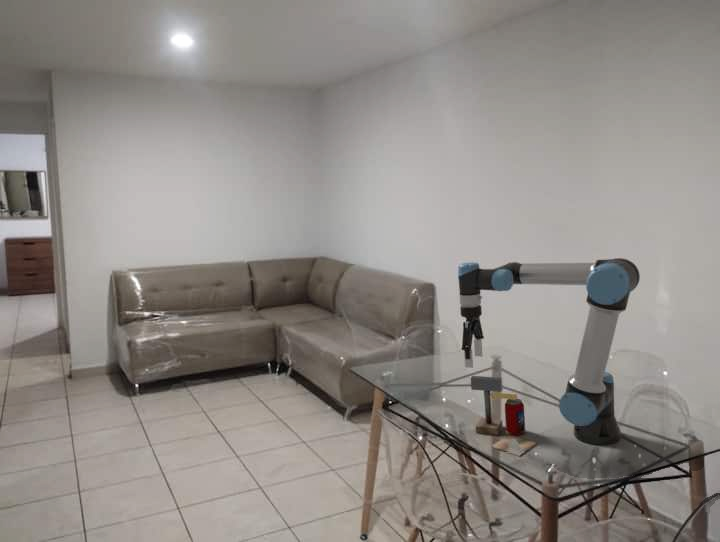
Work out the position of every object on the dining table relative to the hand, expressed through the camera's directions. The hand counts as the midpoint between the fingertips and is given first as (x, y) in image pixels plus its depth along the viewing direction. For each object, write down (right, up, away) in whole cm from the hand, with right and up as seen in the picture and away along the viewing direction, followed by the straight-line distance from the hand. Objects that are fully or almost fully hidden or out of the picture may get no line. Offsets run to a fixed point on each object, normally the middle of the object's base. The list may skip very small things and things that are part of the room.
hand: (474, 361), depth 213 cm
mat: (+11, -27, -13) cm, 32 cm away
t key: (+8, -23, 0) cm, 24 cm away
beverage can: (+15, -26, -2) cm, 30 cm away
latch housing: (+6, -26, +2) cm, 26 cm away
